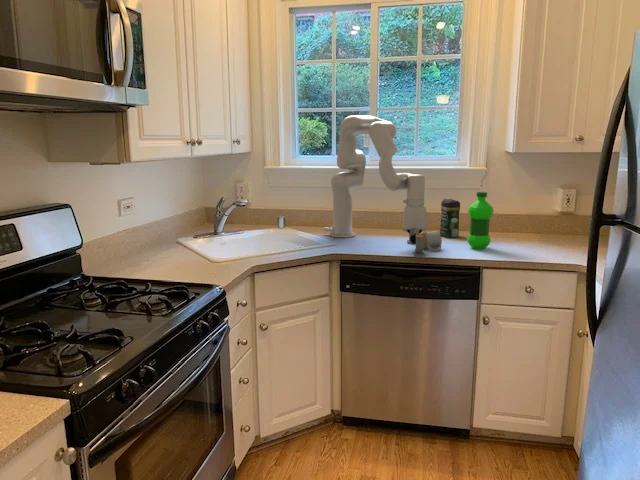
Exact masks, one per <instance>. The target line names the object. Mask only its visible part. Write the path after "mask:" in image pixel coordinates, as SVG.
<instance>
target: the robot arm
mask: <svg viewBox="0 0 640 480" xmlns="http://www.w3.org/2000/svg"><path fill="white" fill-rule="evenodd" d="M359 134H361V135H369V137H370V139H371V142H372V144H373V146H374V148H375V150H376V152H377V155H378V157H379V162H378V170H379V171H378V172H379V176H380V177H381V180H382V182H383V184H384V185H385V187H386V188H387V190H390V191H392V192H397V191H404V190H405V191H406V199H404V200H403V202H402V203H403V204H405V206H404V209H403V214H402V215H403V216H402V228H401V230H402V231H403V232H407V233H408V235H409V234H410V242H412V244H411V245H416V235H417V234H422V233H424V232H427V226H428V224H427V223H428V222H427V221H428V219H427V217H428V216H427V213H428V211H427V207H426V206H425V191H426V177H425V175H423V174H422V173H421V174H420V173H416V174H415V173H414V174H413V173H410V172H397V173H396V171H395V168H394V165H393V162H392V160H393V157H394V155H396V154H397V152H398V148H397V146H396V144H395V142H394V138H395V137H396V136H397V128H396V126H395V124H394V123H392V122H391V121H388V120H385V119H382V118H379V117H376V116H373V115H364V114H363V115H361V114H360V115H359V114H357V115H356V114H355V115H349V116H347V117H345V118H344V119H343V120H342V121H341V123H340V126H339V141H338V148H337V157H336V165H337V166H336V167H338V168H339V169H340V170H343V171H340V172H337V173H335V174H333V176H332V178H331V180H330V183H331V184H330V185H331V191H332V210H333V211H332V226H330V227H329V226H326V227H324V229H323V231H324V232H328V233H329V232H330V233H329V236H331V237H333V238H339V239H340V238H342V239H343V238H346V239H348V238H353V237H355V236H356V233H355V232H354V231H353V197H352V194H351V192H350V191H358V190H359V189H361V187H362V186H363V183H364V179H365V171H366V166H367V160H366V159H367V157H366V155H365V153H364V152H363V151H362V150H361V149H357V142H358V141H357V136H356V135H359ZM345 170H346V171H345ZM413 229H416V231H415V234H413Z"/></svg>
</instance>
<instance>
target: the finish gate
mask: <svg viewBox="0 0 640 480" xmlns="http://www.w3.org/2000/svg"><path fill="white" fill-rule="evenodd" d="M415 231H416V229H413V234H415ZM408 235H409V237H408V239H406V242H407V244H408V245H409V244H411V245H413V244H412V242H410V234H409V233H408ZM423 237H424V235H422V233H420V234H417V235H416V244H415V251H413V252H412V255H413V254H414V255H413V256H414V257H425V256H426V254H425V252H424V249H423Z"/></svg>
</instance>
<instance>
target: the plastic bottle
mask: <svg viewBox="0 0 640 480" xmlns="http://www.w3.org/2000/svg"><path fill="white" fill-rule="evenodd" d="M476 197H477V200H476V201H474V202H473V203H471V204H470V205H469V207H468V209H467V213H468V216H469V218H470V222H469V223H470V225H469V234H468V235H467V239H466V241H467V243H468V244H469V246H470V247H471V249H472V250H476V251H477V250H485V249H486V248H487V247H488V246H489V245H490V243H491V236H490V234H489V233H490V221H491V220H490V219H491V218H492V217H493V216H494V208H493V206H492V205H491V204H490V203H489V202H488V201H487V200H486V198H487V197H488V192H487V191H477V192H476Z"/></svg>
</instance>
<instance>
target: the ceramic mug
mask: <svg viewBox="0 0 640 480" xmlns="http://www.w3.org/2000/svg"><path fill="white" fill-rule="evenodd" d="M421 234H422V235H424V237H423V250H430V251H431V252H437V251H438V252H440V251H441V250H442V243H443V241H442V240H443V239H442V235H440V231H438V230H433V231H425V232H421Z"/></svg>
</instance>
